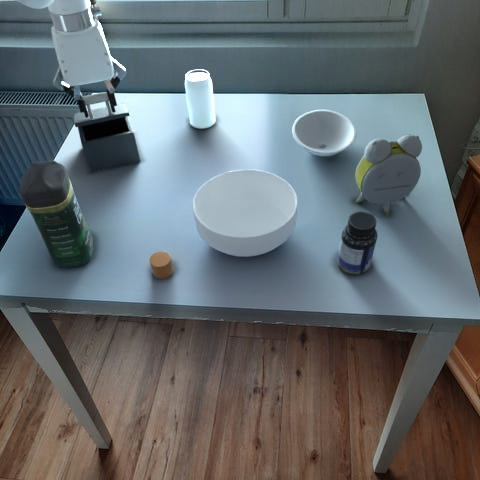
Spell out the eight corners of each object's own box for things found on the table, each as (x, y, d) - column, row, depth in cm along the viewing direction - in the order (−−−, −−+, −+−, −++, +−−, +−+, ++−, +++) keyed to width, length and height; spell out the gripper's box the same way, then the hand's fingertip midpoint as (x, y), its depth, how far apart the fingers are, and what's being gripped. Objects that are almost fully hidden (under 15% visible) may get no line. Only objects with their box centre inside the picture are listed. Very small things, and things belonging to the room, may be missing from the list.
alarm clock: (402, 192, 100) (421, 126, 88) (414, 213, 96) (435, 147, 84) (349, 199, 99) (360, 134, 87) (359, 220, 95) (372, 155, 83)
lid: (129, 115, 101) (122, 89, 98) (75, 127, 99) (66, 101, 96) (124, 106, 111) (118, 82, 108) (75, 117, 109) (67, 93, 106)
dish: (358, 171, 105) (361, 151, 101) (293, 173, 105) (294, 154, 101) (348, 127, 115) (350, 108, 111) (289, 129, 116) (290, 110, 112)
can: (215, 115, 122) (210, 67, 112) (215, 129, 118) (211, 81, 108) (190, 117, 122) (183, 69, 112) (190, 131, 118) (183, 83, 108)
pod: (155, 282, 88) (151, 269, 85) (151, 267, 90) (147, 254, 87) (176, 276, 88) (173, 263, 85) (171, 262, 91) (168, 248, 88)
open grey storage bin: (141, 162, 111) (133, 132, 104) (92, 174, 109) (81, 143, 102) (132, 137, 117) (124, 106, 111) (85, 147, 115) (75, 117, 109)
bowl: (221, 194, 102) (218, 161, 95) (308, 215, 97) (311, 180, 90) (180, 255, 91) (174, 222, 85) (275, 282, 86) (276, 249, 80)
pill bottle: (358, 249, 90) (369, 204, 82) (376, 271, 87) (388, 225, 78) (330, 259, 89) (337, 214, 80) (346, 281, 86) (356, 236, 77)
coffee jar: (94, 267, 91) (60, 187, 76) (52, 272, 90) (10, 193, 75) (96, 233, 96) (65, 153, 82) (57, 238, 96) (19, 158, 81)
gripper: (115, 3, 91) (135, 96, 105) (25, 18, 88) (58, 111, 103) (121, 18, 86) (141, 112, 101) (26, 34, 84) (61, 128, 98)
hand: (99, 111), depth 102 cm, fingers closed on lid, 5 cm apart
